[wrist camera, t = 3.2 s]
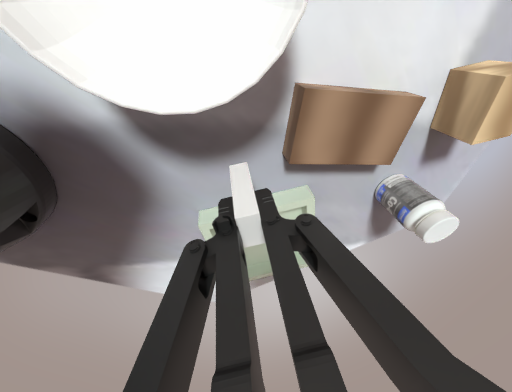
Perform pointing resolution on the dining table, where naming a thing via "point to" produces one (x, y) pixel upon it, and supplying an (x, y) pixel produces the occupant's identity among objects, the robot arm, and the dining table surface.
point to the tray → (257, 256)
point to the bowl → (155, 46)
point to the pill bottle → (416, 208)
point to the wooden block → (476, 103)
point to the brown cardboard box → (347, 124)
